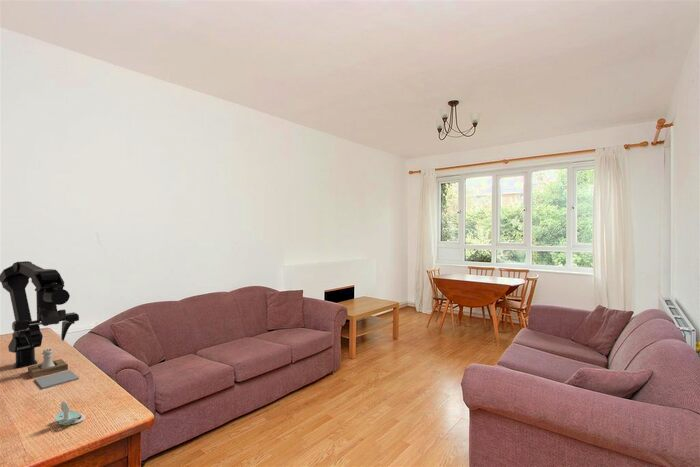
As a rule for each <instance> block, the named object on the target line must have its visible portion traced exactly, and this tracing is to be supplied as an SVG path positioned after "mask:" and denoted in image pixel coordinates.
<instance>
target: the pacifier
mask: <svg viewBox="0 0 700 467" xmlns="http://www.w3.org/2000/svg"><path fill="white" fill-rule="evenodd" d="M60 410H61V411H58V413H56V415H55V417H54V420H55V421H56V422H57V423H58V425H62V426H71V425H75V424H78V423H82V421H84V420H85V419H86V416H85V414H83V413H79V412H77V411H75V410H71V409H70V407H69V405H68V402H67V401H66V400H63V401H62V402H61V403H60Z"/></svg>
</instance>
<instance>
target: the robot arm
mask: <svg viewBox="0 0 700 467" xmlns="http://www.w3.org/2000/svg"><path fill="white" fill-rule="evenodd" d="M30 279H31V280H30ZM30 281H31V283H32V285H34V287H35V289H34V291H35V292H36V296H35V297H36V298H35V299H36V320H33V319H32V314H31V311H30V305H29V302H28V301H29V300H28V296H27V291H26V288H27V286H28V284H29V283H30ZM0 283H1V286H2V288H3V289H4V290H5V291H7V292H8V293H9V295H10V300H11V301H10V302H11V305H12V311H13V312H12V313H13V316H14V321H13V322H12V324H11V330H12V331H13V333H12V338H11V341H9V344H8V347H7V348H8V352H10V353H12V354H13V353H15V362H14V363H13V364H12V365H13V366H14V368H15V369H17V368H22V367H28V366H33V365H37V364H39V363H38V362H39V361H38V360H37V359H36V348H39V347H41V345H42V344H43V343H42V342H43V336H44V335H43V333H42V331H41V328H40V325H41V326H44V327H47V326H51V325H57V324H60V322H62V323H61V334H60V335H61V337H60V338H61V342H63V341H65V339H66V335H67V333H68V330H69V328H70V327H71V326H72V325H74V324H75V323H76V322H78V321H80V315H79V314H78V313H77V312H67V311H66V309H60V310H59V309H58V308H57V307H58V306H61V305H65V304H66V303H67V302H68V301H69V299H70V297H71V295H70V293H69V291H68V290H66V289H64V288H65V281H64V279H63V278H62V276H61V274H60V272H59V271H58V270H57V269H52V268H50V269H49V268H43V267H41V266H38V265H36V264H34V263H32V261H29V260H25V261H16V262H13V264H12V265H10V266H9V267H6V268H4V269H3V270H2V271H1V273H0ZM66 312H67V313H66Z"/></svg>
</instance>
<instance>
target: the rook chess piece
mask: <svg viewBox="0 0 700 467" xmlns="http://www.w3.org/2000/svg"><path fill="white" fill-rule="evenodd" d="M53 352H54V351H53V349H52V348H49V349H48V348H46V349H44V350H42V353H41V354H42V355H43V356H42V358H43V362H42V363H43V365H42V367H41V369H43V368H48V367H52V366H55V364H54V363H53V361H54V360H53Z"/></svg>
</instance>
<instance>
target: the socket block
mask: <svg viewBox="0 0 700 467" xmlns="http://www.w3.org/2000/svg"><path fill="white" fill-rule="evenodd" d="M52 361H53V363H54V364H55V366H52V367H48V368H43V369H41V367H42V365H43V362H41V363H36V364H32V365H28V366H27V373H28V375H30V376H31V378H32V379H37V378H41V377H45V376H49V375H52V374H56V373H60V372H64V371H68V370H69V365H68V363H67V362H66V361H64V360H63V359H62V358H60V359H55V360H52Z"/></svg>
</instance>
